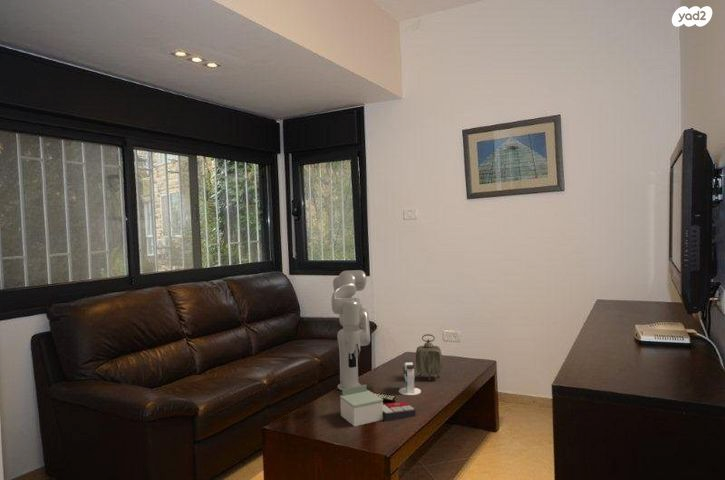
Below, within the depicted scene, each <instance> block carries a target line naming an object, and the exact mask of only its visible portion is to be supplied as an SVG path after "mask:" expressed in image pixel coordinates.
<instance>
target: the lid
mask: <svg viewBox="0 0 725 480" xmlns="http://www.w3.org/2000/svg"><path fill="white" fill-rule="evenodd" d="M340 398H341V399H343V400H344V401H346V402H347V403H348V404H350V405H351V406H353V407H358V406H362V405H367V404H372V403H376V402H381V401H382V402H383V401H384V398H382V397H380V396H379V395H376V394H375V393H374V392H372V391H370V390H368V389H367V384H361V385H360V386H355V387H350V388H344V389H342V390H341V394H340V395H339V399H340Z"/></svg>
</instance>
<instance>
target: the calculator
mask: <svg viewBox="0 0 725 480" xmlns="http://www.w3.org/2000/svg"><path fill="white" fill-rule="evenodd" d="M382 404H383V403H382ZM416 413H417V411H416V409H415V407H412V405H410V404H409V403H408V402H406V401H399V402H390V403H385V404H383V421H384V422H391V421H394V420H399V419H401V420H402V419H407V418H412V417H416Z"/></svg>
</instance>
